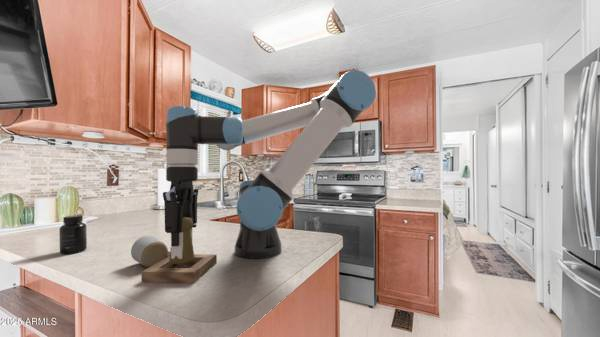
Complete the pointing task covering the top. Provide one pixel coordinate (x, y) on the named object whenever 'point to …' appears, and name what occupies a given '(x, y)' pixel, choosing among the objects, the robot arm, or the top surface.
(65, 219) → the supplement bottle
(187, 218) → the olive rounded upright piece
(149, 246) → the ceramic mug
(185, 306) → the top surface
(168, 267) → the socket block
